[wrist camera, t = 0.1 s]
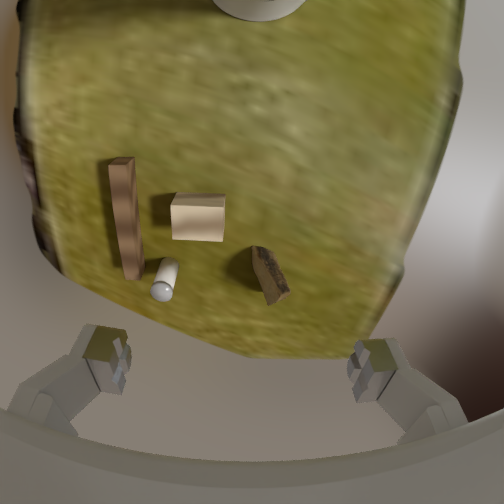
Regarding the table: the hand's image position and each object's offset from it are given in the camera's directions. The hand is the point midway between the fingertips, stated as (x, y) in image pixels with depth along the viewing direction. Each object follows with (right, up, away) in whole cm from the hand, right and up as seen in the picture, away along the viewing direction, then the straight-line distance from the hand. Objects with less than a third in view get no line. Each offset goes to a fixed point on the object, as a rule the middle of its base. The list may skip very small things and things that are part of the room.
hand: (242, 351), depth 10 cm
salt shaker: (-15, +1, +46) cm, 49 cm away
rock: (+3, 0, +48) cm, 48 cm away
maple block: (-8, +11, +40) cm, 42 cm away
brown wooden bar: (-21, +10, +40) cm, 46 cm away
